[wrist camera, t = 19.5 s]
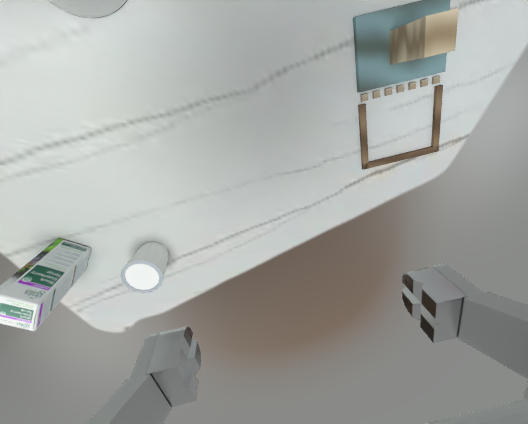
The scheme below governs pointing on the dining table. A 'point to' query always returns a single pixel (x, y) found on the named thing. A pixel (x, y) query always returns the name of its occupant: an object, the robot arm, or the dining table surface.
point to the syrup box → (41, 284)
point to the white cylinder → (146, 268)
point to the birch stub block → (424, 37)
